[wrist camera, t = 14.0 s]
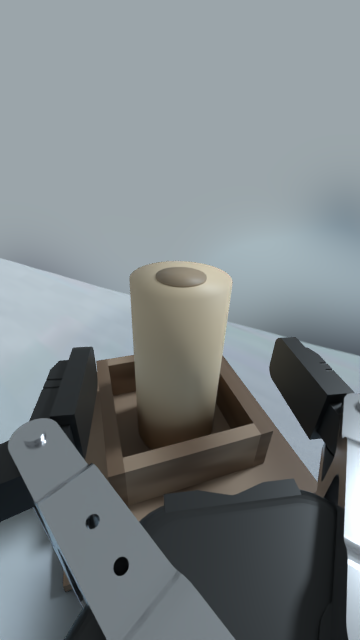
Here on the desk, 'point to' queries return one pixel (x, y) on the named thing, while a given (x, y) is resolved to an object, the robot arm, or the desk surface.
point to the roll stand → (185, 445)
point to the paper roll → (177, 348)
